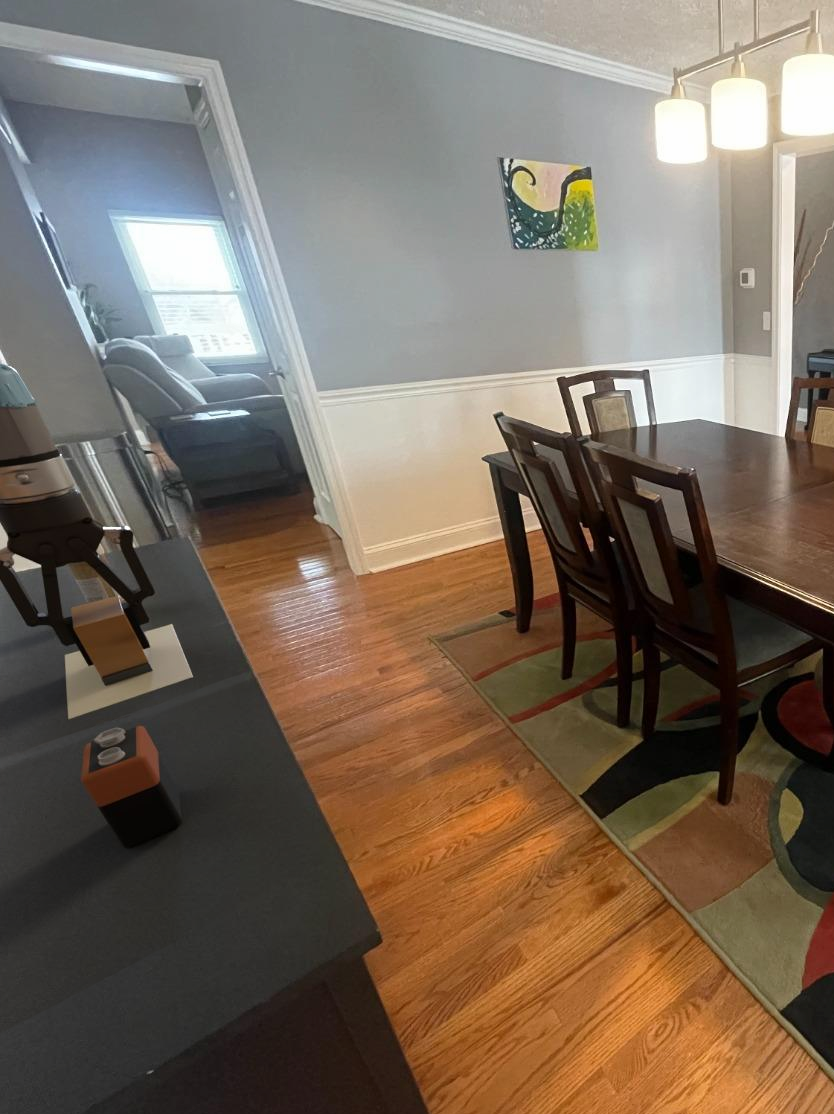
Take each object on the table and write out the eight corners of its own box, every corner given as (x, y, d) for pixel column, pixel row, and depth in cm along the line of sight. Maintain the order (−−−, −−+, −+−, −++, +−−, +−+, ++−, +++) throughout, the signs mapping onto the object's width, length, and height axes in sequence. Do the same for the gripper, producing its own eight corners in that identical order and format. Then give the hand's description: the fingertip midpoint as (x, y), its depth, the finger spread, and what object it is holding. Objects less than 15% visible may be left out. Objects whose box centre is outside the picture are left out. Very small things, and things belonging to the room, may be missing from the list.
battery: (180, 789, 64) (139, 715, 60) (183, 826, 60) (140, 748, 56) (124, 812, 62) (78, 736, 57) (124, 852, 57) (73, 772, 53)
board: (67, 660, 88) (64, 654, 88) (174, 629, 96) (171, 623, 96) (71, 725, 74) (68, 719, 74) (196, 682, 82) (193, 676, 82)
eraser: (100, 660, 86) (70, 606, 82) (145, 647, 89) (118, 594, 85) (105, 686, 80) (73, 629, 77) (153, 670, 84) (124, 615, 80)
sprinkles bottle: (143, 614, 101) (107, 540, 95) (112, 627, 97) (73, 552, 91) (122, 612, 102) (84, 539, 96) (90, 625, 98) (49, 550, 92)
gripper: (-85, 520, 66) (24, 693, 75) (135, 483, 78) (205, 636, 87) (-78, 506, 70) (25, 670, 80) (129, 473, 82) (197, 620, 92)
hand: (119, 652), depth 84 cm, fingers closed on eraser, 5 cm apart
